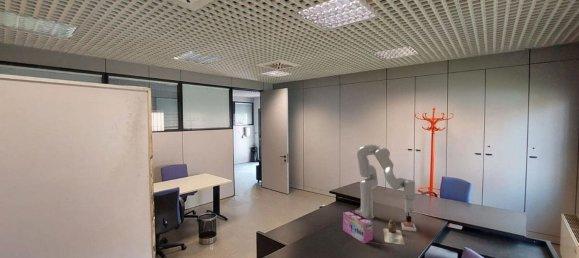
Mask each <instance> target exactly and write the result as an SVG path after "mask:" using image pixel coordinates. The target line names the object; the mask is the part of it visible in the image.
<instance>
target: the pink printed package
mask: <svg viewBox="0 0 579 258" xmlns="http://www.w3.org/2000/svg"><path fill="white" fill-rule="evenodd" d="M342 215H343V216H342V217H343V218H342V219H343V220H342V230H343V231H344V232H345V233H347V234H348V235H350V236H351V237H353V238H355V239H356V240H358V241H359V242H361V243H363V244H367V243H370V242H371V241H372V240H373V239H374V221H373V220H372V219H368V218H365V217H363V216H361V215H359V213H356V212H355V211H353V210H349V211H346V212H344V211H342Z"/></svg>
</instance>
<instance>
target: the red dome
mask: <svg viewBox="0 0 579 258" xmlns="http://www.w3.org/2000/svg"><path fill="white" fill-rule="evenodd" d="M404 223H405V226H404V227H412V224H413V223H412V221H411V222H407V221H405V222H404ZM412 228H413V227H412Z"/></svg>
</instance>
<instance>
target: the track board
mask: <svg viewBox="0 0 579 258" xmlns="http://www.w3.org/2000/svg"><path fill="white" fill-rule="evenodd" d="M382 230H383V239H384V242H385V244H387V243H388V244H389V243H391V244H395V245H397V244H398V245H405V242H404V241H405V240H404V238H403V234H402V230H399V229H396V233H390V232H389V228H382Z"/></svg>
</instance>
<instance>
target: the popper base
mask: <svg viewBox="0 0 579 258" xmlns="http://www.w3.org/2000/svg"><path fill="white" fill-rule="evenodd" d="M400 226H401V229H402V230H403V231H407V232H409V231H410V232H417V227H416V225H415V223H412V227H405V222H402V221H401V222H400Z"/></svg>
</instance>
